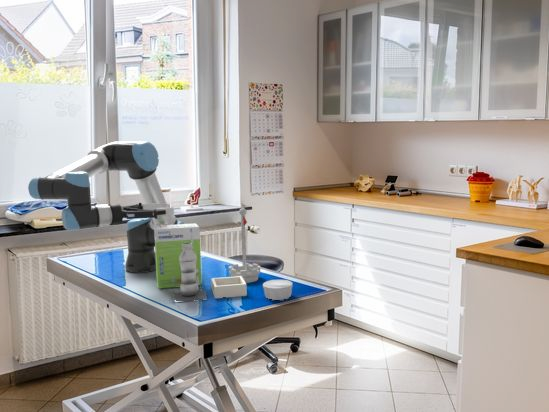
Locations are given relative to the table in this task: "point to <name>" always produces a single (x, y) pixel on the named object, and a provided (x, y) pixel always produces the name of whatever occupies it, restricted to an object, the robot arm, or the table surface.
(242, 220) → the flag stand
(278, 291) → the ramekin
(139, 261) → the robot arm
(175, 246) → the green white carton
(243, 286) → the white square tray
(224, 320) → the table surface
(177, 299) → the rubber mat
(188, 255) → the plastic bottle
